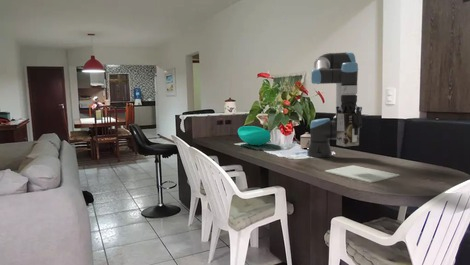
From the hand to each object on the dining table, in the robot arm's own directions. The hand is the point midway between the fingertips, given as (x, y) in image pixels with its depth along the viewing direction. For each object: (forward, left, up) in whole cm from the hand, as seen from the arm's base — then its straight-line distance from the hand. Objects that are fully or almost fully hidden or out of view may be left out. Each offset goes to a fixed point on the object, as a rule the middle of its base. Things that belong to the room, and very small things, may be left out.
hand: (347, 140), depth 164 cm
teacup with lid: (-63, +36, -16) cm, 74 cm away
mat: (+8, 0, -15) cm, 17 cm away
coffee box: (0, 0, -2) cm, 2 cm away
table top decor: (-98, +16, -16) cm, 101 cm away
